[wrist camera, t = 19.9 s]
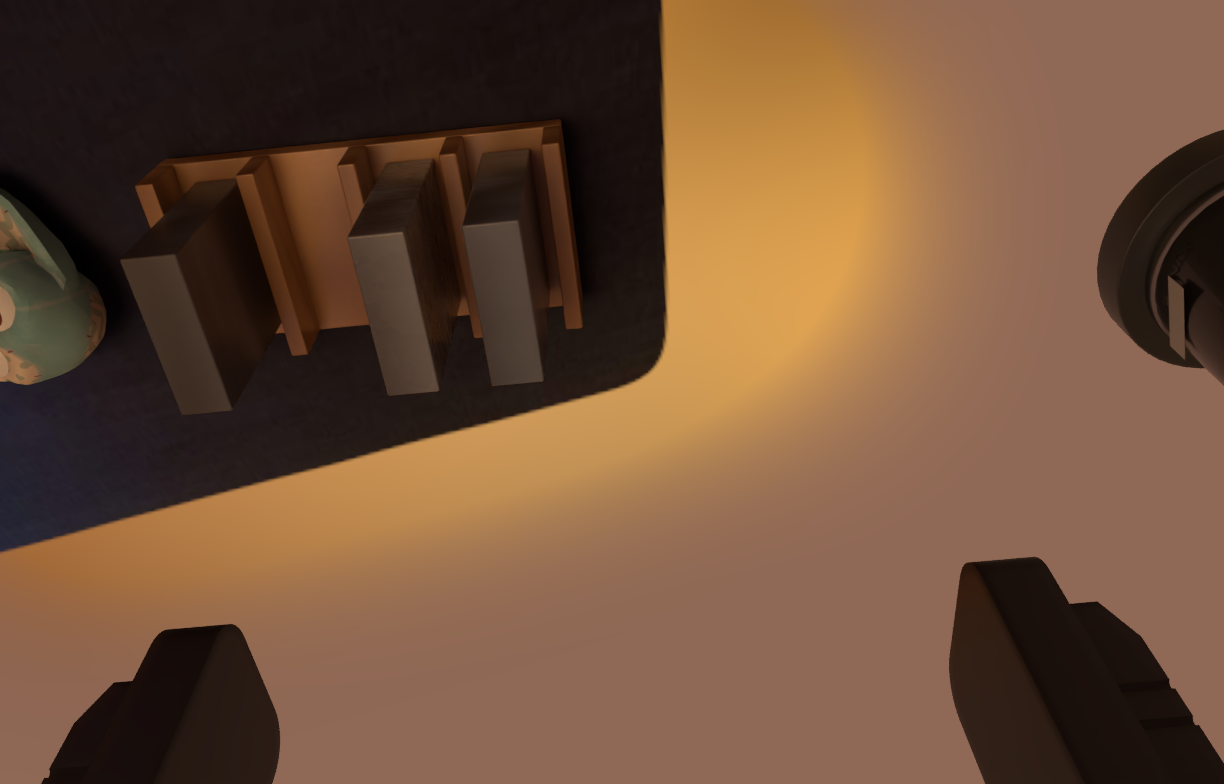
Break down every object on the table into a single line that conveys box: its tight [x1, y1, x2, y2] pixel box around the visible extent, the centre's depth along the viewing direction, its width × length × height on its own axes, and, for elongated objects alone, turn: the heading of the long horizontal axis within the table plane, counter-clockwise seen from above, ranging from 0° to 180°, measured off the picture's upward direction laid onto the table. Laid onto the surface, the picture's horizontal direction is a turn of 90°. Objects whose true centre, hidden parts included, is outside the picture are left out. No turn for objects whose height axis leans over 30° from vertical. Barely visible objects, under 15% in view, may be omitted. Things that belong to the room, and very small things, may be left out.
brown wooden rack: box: [120, 119, 583, 415], centre depth 42 cm, size 18×9×10 cm, turn 95°
